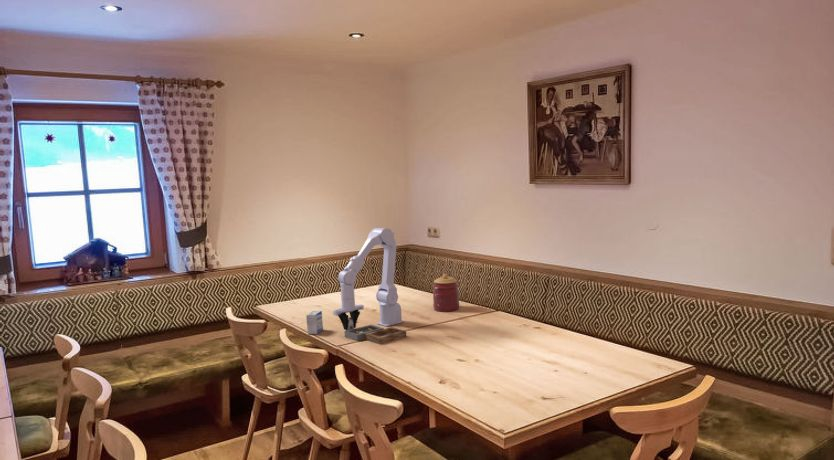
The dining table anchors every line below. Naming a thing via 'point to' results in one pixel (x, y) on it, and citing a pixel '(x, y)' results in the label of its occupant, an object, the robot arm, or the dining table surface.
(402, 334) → the shallow wooden tray
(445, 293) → the canister
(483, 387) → the dining table surface
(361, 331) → the grey tray with pegs
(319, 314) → the medicine box
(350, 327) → the cell
